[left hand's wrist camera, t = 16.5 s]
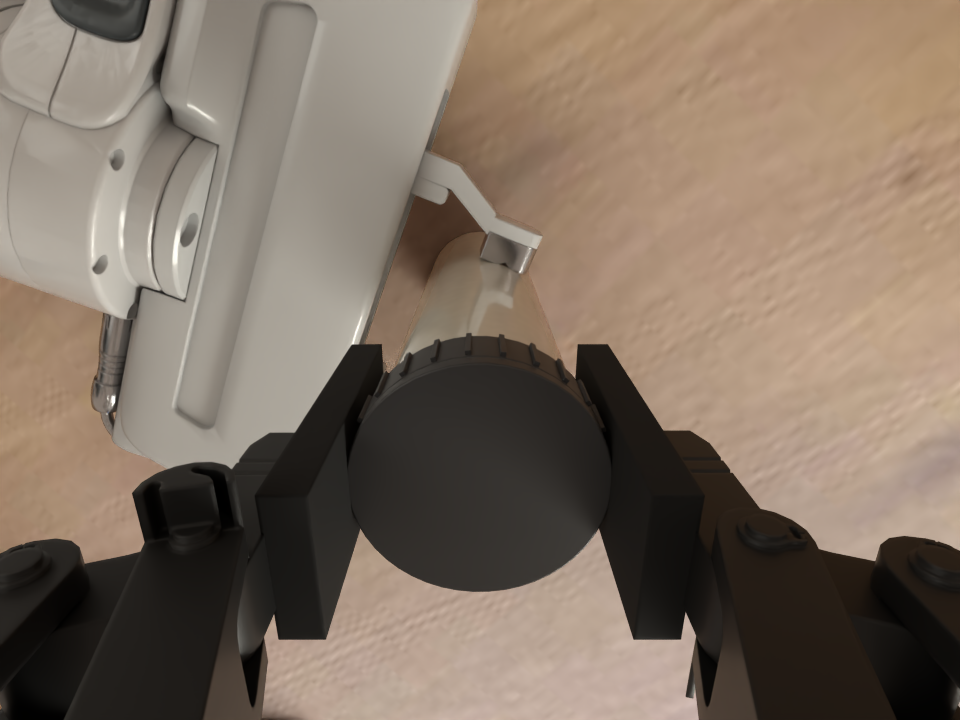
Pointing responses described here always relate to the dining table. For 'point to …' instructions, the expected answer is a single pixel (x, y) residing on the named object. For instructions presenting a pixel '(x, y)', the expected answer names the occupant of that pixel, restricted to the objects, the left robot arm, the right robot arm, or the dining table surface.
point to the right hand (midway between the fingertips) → (502, 326)
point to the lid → (479, 465)
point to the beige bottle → (477, 302)
